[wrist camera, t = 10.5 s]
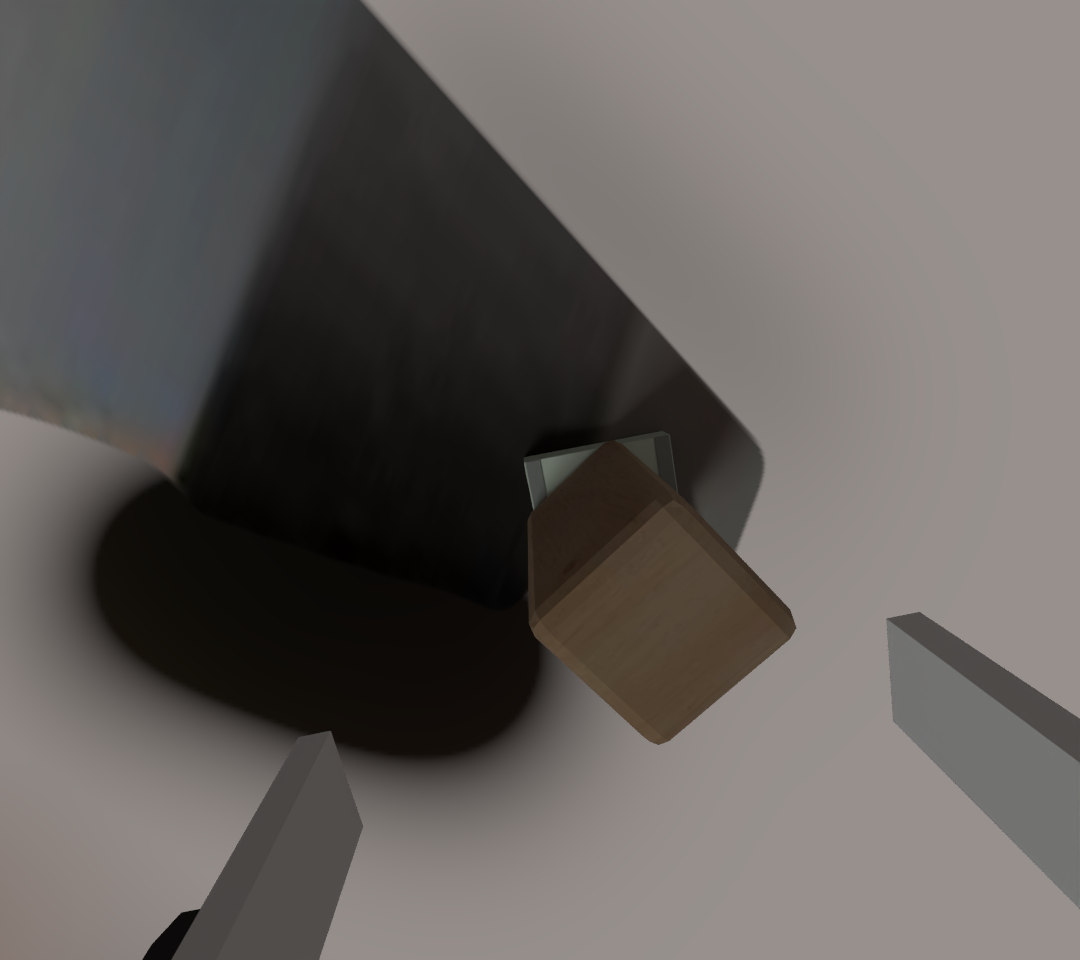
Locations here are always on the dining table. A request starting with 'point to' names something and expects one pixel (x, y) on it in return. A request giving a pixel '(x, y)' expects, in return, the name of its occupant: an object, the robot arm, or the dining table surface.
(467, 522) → the dining table surface
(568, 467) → the dock
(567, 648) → the wooden block
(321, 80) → the dining table surface
